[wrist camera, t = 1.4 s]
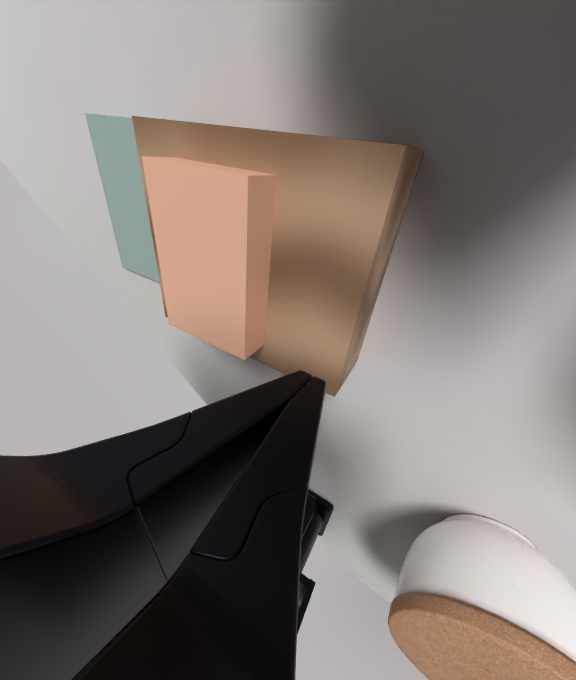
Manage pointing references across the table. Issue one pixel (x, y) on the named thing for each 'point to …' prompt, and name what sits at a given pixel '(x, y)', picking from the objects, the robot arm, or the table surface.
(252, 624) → the robot arm
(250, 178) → the peach upright slab
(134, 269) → the panel
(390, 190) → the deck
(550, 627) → the lidded jar
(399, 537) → the table surface
